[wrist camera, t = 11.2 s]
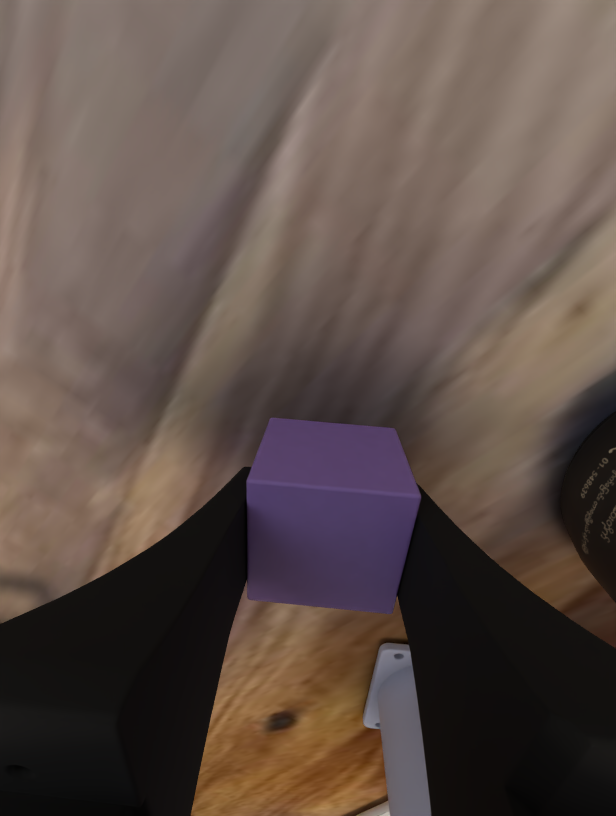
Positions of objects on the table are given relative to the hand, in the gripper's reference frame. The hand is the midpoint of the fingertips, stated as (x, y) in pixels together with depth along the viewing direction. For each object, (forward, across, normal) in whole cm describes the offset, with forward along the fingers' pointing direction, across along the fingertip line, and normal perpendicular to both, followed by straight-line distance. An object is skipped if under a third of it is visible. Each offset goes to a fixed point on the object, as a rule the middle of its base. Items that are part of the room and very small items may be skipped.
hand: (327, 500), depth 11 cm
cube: (+1, 0, 0) cm, 1 cm away
